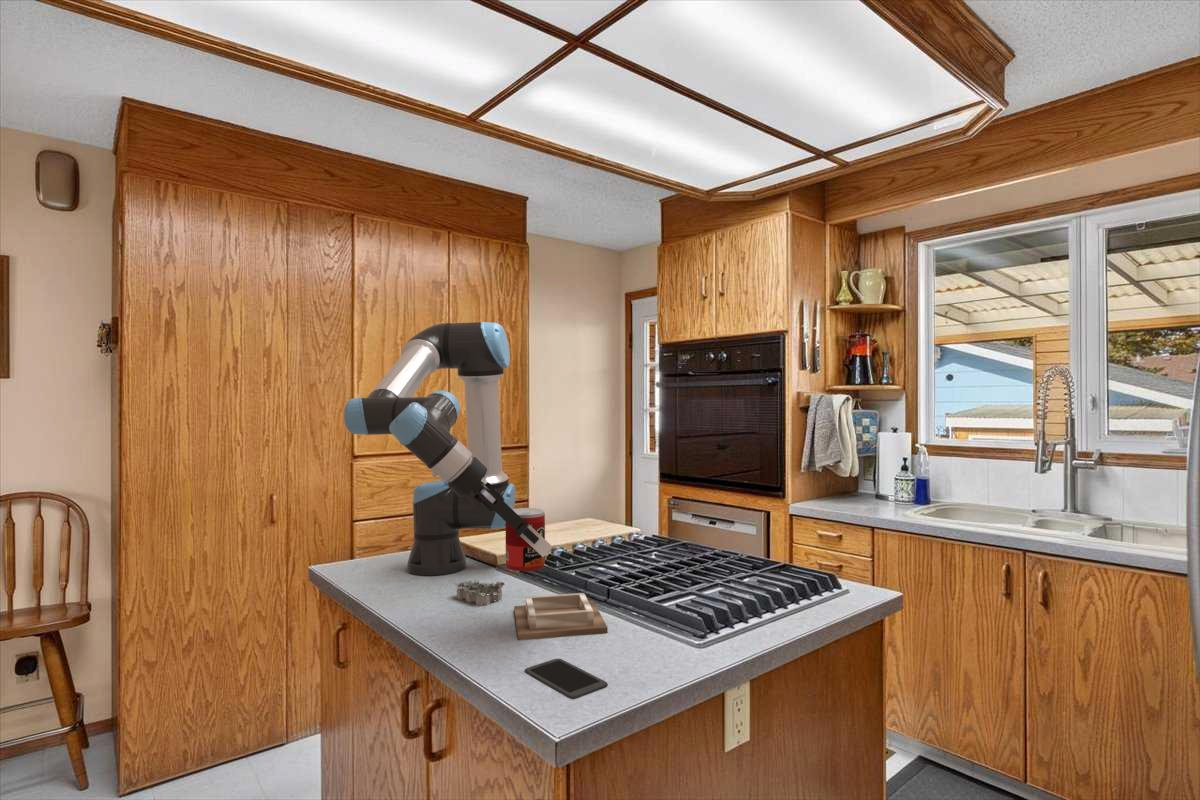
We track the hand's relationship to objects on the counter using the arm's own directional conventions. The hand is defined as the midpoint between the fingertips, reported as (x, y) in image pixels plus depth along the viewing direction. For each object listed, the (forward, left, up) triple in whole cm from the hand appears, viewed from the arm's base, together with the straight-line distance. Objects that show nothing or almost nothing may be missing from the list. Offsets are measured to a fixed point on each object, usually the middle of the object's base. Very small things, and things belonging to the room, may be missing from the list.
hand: (542, 546), depth 134 cm
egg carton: (-20, -13, -16) cm, 28 cm away
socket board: (-1, +3, -15) cm, 16 cm away
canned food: (0, -3, -4) cm, 5 cm away
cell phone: (+26, +1, -16) cm, 31 cm away
